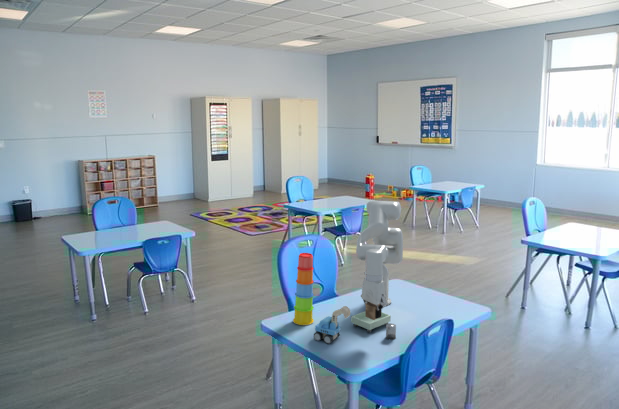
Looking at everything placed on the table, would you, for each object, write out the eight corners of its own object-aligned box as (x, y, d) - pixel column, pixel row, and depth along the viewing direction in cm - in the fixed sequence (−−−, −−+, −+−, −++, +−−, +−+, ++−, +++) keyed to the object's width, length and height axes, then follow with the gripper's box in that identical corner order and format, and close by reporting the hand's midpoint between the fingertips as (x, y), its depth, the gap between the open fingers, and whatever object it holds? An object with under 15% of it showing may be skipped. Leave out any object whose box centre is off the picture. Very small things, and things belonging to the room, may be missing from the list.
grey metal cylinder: (384, 337, 230) (384, 325, 229) (390, 334, 233) (390, 322, 232) (391, 340, 227) (391, 328, 226) (397, 337, 230) (397, 325, 229)
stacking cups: (301, 315, 256) (300, 250, 250) (317, 320, 250) (317, 253, 244) (288, 322, 247) (287, 255, 241) (305, 327, 242) (304, 258, 236)
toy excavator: (344, 348, 220) (344, 311, 217) (311, 339, 228) (311, 304, 225) (352, 341, 227) (353, 305, 224) (321, 333, 235) (321, 298, 232)
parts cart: (351, 326, 242) (351, 316, 242) (371, 318, 252) (372, 308, 251) (369, 334, 234) (369, 323, 233) (390, 325, 243) (390, 315, 242)
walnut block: (365, 316, 224) (365, 304, 222) (372, 313, 227) (373, 301, 226) (373, 320, 220) (374, 307, 219) (381, 316, 223) (381, 304, 222)
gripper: (353, 274, 224) (353, 312, 227) (383, 284, 211) (382, 324, 215) (365, 270, 228) (365, 307, 232) (394, 279, 216) (393, 319, 219)
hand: (373, 315), depth 223 cm, fingers closed on walnut block, 5 cm apart
